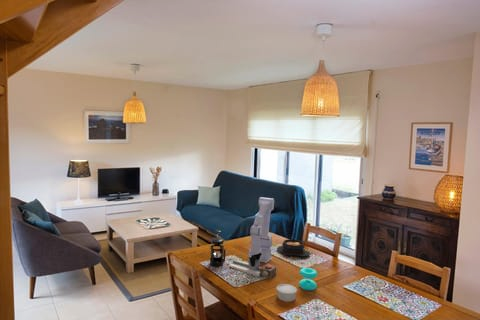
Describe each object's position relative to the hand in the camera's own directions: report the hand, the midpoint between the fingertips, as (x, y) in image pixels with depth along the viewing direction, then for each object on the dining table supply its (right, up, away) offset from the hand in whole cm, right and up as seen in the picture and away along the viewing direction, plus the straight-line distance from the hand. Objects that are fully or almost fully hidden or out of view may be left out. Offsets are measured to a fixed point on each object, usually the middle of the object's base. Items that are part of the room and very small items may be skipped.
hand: (254, 265), depth 210 cm
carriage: (0, -2, 0) cm, 2 cm away
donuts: (+30, -7, -19) cm, 36 cm away
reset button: (+8, -4, -5) cm, 10 cm away
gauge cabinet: (+8, -5, -5) cm, 11 cm away
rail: (-4, -4, +3) cm, 6 cm away
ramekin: (+16, -8, -32) cm, 37 cm away
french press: (-24, -3, +9) cm, 26 cm away
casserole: (+30, -3, +35) cm, 47 cm away
